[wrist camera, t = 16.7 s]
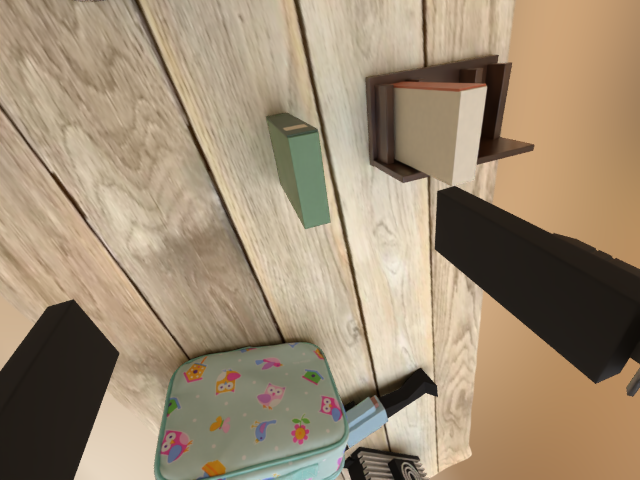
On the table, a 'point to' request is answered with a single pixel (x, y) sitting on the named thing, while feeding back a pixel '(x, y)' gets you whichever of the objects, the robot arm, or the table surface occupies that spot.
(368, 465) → the electronic device
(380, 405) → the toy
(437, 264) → the table surface
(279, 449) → the lunch box
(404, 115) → the cream book
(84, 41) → the table surface
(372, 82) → the book rack
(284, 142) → the green book
